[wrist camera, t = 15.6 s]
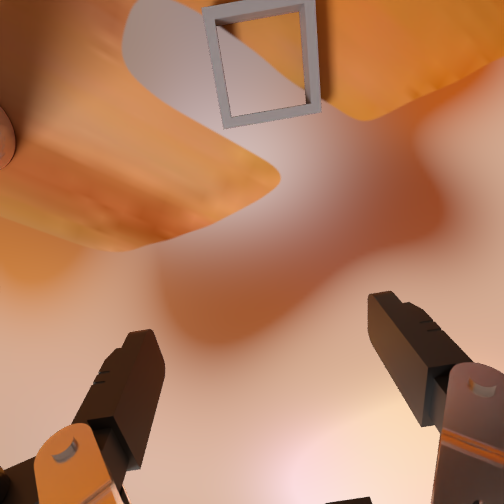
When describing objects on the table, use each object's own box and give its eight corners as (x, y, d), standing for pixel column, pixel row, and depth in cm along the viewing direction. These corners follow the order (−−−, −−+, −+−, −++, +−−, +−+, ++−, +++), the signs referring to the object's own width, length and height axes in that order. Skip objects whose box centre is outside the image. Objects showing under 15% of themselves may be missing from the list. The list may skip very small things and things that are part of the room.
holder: (315, 112, 34) (321, 112, 32) (224, 128, 34) (223, 129, 32) (308, -3, 30) (314, -13, 28) (203, 15, 30) (201, 7, 28)
